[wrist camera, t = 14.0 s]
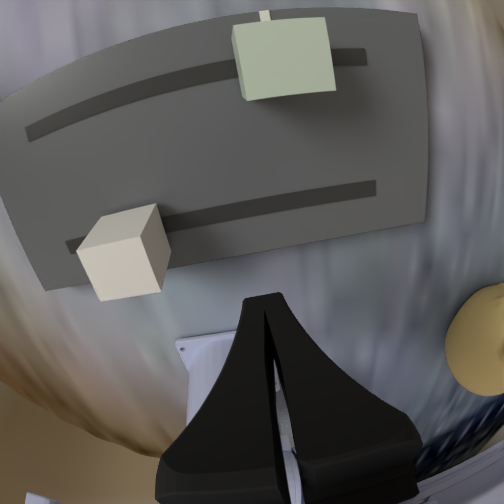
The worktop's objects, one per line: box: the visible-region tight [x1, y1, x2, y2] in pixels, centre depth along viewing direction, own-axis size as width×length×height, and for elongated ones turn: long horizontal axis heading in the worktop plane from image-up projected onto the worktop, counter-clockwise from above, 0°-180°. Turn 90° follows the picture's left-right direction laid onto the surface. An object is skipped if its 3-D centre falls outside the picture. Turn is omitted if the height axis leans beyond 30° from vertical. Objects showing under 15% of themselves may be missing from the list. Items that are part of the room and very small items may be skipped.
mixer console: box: [0, 8, 428, 291], centre depth 17 cm, size 14×28×2 cm, turn 99°
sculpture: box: [445, 283, 504, 396], centre depth 24 cm, size 11×12×11 cm
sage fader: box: [231, 17, 336, 101], centre depth 12 cm, size 3×4×4 cm
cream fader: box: [76, 203, 171, 301], centre depth 17 cm, size 3×4×4 cm
